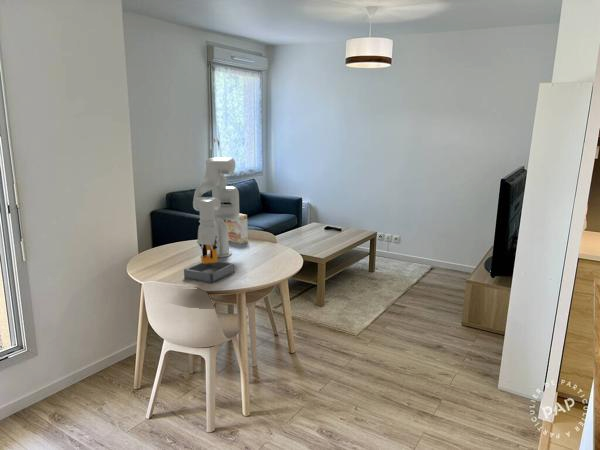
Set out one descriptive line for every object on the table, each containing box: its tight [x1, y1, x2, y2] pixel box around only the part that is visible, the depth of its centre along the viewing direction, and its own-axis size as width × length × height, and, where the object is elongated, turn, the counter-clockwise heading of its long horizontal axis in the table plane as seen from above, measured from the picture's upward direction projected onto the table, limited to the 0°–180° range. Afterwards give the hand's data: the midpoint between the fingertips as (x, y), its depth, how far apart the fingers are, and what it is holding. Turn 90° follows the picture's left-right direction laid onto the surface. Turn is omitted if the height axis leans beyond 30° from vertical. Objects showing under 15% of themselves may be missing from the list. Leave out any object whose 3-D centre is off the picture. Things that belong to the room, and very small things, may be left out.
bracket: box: [200, 243, 219, 264], centre depth 235 cm, size 11×7×12 cm, turn 20°
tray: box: [183, 260, 235, 285], centre depth 237 cm, size 18×20×5 cm
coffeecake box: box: [225, 212, 249, 245], centre depth 306 cm, size 15×7×20 cm, turn 50°
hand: (209, 256), depth 235 cm, fingers closed on bracket, 4 cm apart
